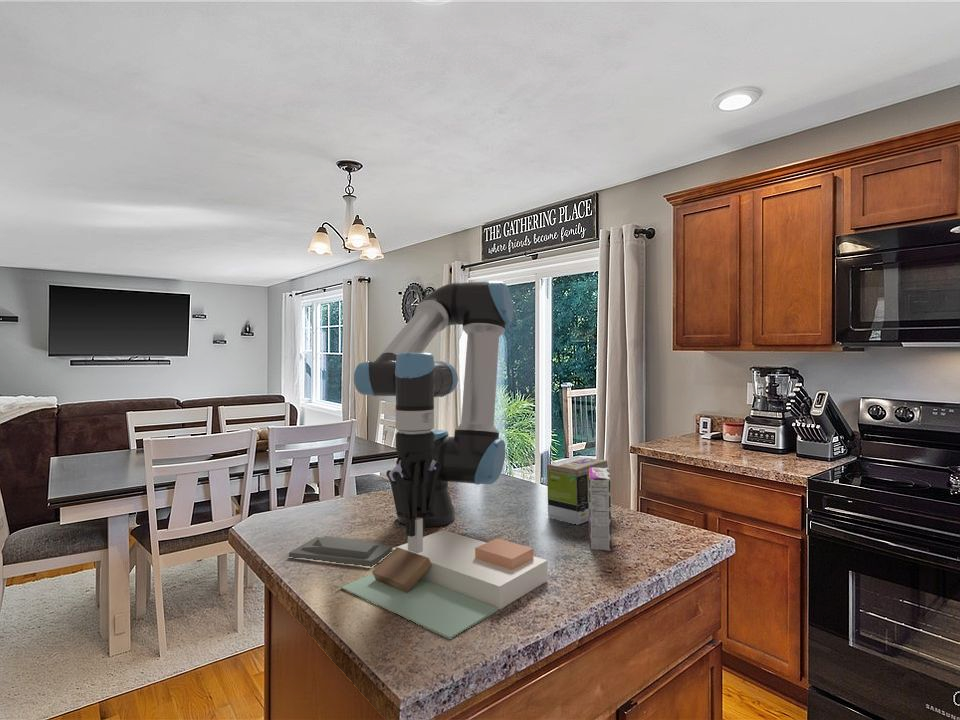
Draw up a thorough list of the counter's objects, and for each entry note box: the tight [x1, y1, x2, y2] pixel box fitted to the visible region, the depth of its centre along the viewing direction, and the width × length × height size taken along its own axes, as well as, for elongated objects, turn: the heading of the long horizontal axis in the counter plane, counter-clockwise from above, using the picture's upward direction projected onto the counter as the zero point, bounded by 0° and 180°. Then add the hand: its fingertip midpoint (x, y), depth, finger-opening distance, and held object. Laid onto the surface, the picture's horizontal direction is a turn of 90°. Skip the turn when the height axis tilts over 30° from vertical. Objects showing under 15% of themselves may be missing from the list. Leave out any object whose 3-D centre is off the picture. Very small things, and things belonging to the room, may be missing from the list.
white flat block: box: [392, 529, 548, 611], centre depth 106 cm, size 28×15×4 cm, turn 50°
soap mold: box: [288, 535, 394, 567], centre depth 117 cm, size 10×20×4 cm, turn 73°
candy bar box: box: [588, 467, 612, 552], centre depth 124 cm, size 11×5×16 cm, turn 168°
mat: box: [340, 573, 499, 640], centre depth 96 cm, size 28×12×1 cm, turn 50°
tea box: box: [546, 456, 609, 526], centre depth 144 cm, size 15×10×15 cm, turn 134°
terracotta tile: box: [475, 537, 535, 570], centre depth 104 cm, size 9×7×2 cm
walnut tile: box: [371, 546, 432, 593], centre depth 102 cm, size 9×7×2 cm
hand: (415, 550), depth 105 cm, fingers closed
